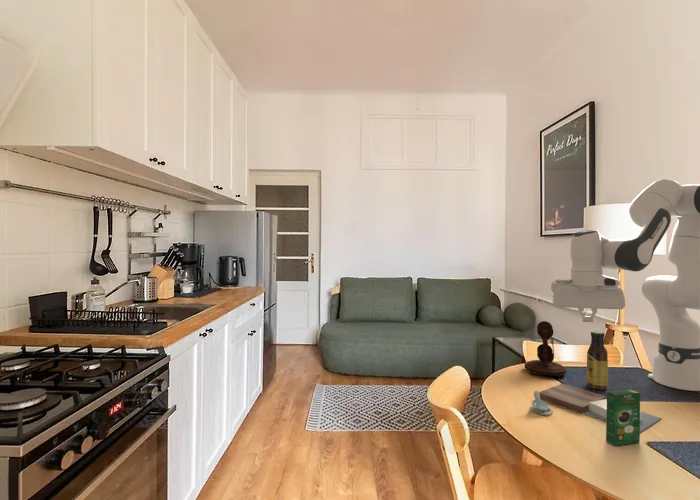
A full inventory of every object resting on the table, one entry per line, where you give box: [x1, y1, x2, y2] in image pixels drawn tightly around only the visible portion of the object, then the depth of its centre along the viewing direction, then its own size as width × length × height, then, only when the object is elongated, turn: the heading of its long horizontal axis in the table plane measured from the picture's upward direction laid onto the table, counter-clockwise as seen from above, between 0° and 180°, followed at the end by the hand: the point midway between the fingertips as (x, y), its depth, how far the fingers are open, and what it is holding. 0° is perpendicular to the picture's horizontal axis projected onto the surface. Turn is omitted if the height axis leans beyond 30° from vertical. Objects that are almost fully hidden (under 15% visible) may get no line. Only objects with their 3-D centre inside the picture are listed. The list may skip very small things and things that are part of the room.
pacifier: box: [529, 389, 553, 416], centre depth 116 cm, size 7×6×6 cm
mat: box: [583, 411, 662, 433], centre depth 112 cm, size 15×14×1 cm
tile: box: [589, 398, 643, 421], centre depth 112 cm, size 8×10×2 cm
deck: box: [538, 383, 607, 415], centre depth 124 cm, size 15×14×2 cm
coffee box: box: [605, 388, 641, 447], centre depth 98 cm, size 8×3×13 cm, turn 103°
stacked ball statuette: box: [524, 320, 567, 379], centre depth 152 cm, size 15×15×20 cm
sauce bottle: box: [586, 330, 609, 391], centre depth 136 cm, size 7×6×20 cm
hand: (587, 321), depth 126 cm, fingers closed
